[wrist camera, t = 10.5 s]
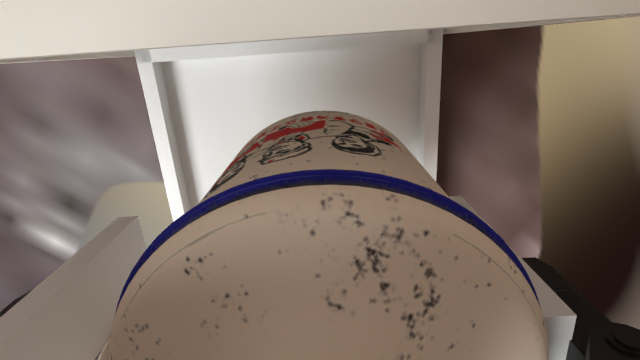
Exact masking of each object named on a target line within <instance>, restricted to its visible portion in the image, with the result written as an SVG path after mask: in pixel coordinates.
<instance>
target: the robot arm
mask: <svg viewBox="0 0 640 360" xmlns="http://www.w3.org/2000/svg"><path fill="white" fill-rule="evenodd" d="M449 198H450V199H451V200H453V201H455V202H456V203H458V204H460V205H461V206H463V207H465V208H466V209H468V210H469V211H471V212H472V213H473V214H475V215H476V216H477V217H479V218H480V219H481V220H483V221H484V222H485V223H487V222H486V221H485V220H484V219H483V218H482V217H481V216H480V215H479V214H478V213H477V212H476V211H475V210H474V209H473V208H472V207H471V206H470V205H469V204H468V203H467V202H466V201H465V199H464V198H463V197H462V196H449ZM487 224H488V223H487ZM488 225H489V224H488ZM489 226H490V225H489ZM490 227H491V226H490ZM491 228H492V227H491ZM492 229H493V228H492ZM493 230H494V229H493ZM494 231H495V230H494ZM495 232H496V231H495ZM506 244H507V243H506ZM507 245H508V244H507ZM508 246H509V245H508ZM509 247H510V246H509ZM510 248H511V247H510ZM145 250H146V246H145V242H144V238H143V234H142V230H141V226H140V223H139V219H138V216H133V217H118V218H117V219H116V220H115V221H113V222H112V223H111V224H110V225H109V226H108V227H106V228H105V229H104V230H103V231H102V232H100V233H99V234H98V235H97V236H96V237H95V238H94V239H92V240H91V241H90V242H89V243H88V244H87V245H85V246H84V247H83V248H82V249H80V250H79V251H78V252H77V253H76V254H75V255H73V256H72V257H71V258H70V259H69V260H67V261H66V262H65V263H64V264H63V265H62V266H60V267H59V268H58V269H57V270H56V271H54V272H53V273H52V274H51V275H50V276H49V277H47V278H46V279H45V280H44V281H43V282H41V283H40V284H39V285H38V286H37V287H36V288H34V289H33V290H31V291H30V292H28V293H26V294H24V295H23V296H21V297H19V298H17V299H16V300H14V301H13V302H12V303H11V304H9V305H8V306H7V307H6V308H5V309H3V310H2V311H1V312H0V360H94V359H95V358H96V356H97V355H98V353H99V352H100V351H101V349H102V348H103V346H104V345H105V344H106V342H107V341H108V339H109V338H110V334H111V329H112V324H113V320H114V317H115V312H116V308H117V304H118V301H119V298H120V295H121V292H122V289H123V287H124V285H125V283H126V281H127V279H128V277H129V275H130V273H131V271H132V269H133V268H134V266H135V265H136V263H137V262H138V260H139V259H140V257H141V256H142V254H143V253H144V252H145ZM511 250H512V251H513V252H514V253H515V254H516V256H517V258H518V259H519V261H520V262H521V264H522V265H523V267H524V269H525V270H526V272H527V274H528V276H529V278H530V280H531V282H532V284H533V286H534V288H535V291H536V294H537V297H538V300H539V303H540V306H541V311H542V314H543V318H544V321H545V324H546V330H547V335H548V343H549V360H640V330H639V329H636V328H633V327H631V326H628V325H624V324H619V323H614V322H611V321H610V320H609V319H608V318H607V317H606V316H604V315H603V314H602V313H601V312H600V311H599V310H598V309H597V308H596V307H595V306H594V305H593V304H592V303H591V302H590V301H588V300H587V299H586V298H585V297H584V296H583V295H582V294H581V293H580V292H579V291H578V290H575V289H574V287H573V286H572V285H571V284H570V283H569V282H568V281H567V280H564V277H563V276H562V275H561V274H560V273H558V272H557V271H556V270H555V269H554V268H553V267H552V266H550V265H548V264H546V263H544V262H543V261H540V260H539V259H537V258H535V257H534V258H521V257H520V256H519V255H518V254H517V253H516V252H515V251H514V250H513V249H512V248H511Z"/></svg>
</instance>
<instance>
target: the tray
mask: <svg viewBox="0 0 640 360" xmlns="http://www.w3.org/2000/svg"><path fill="white" fill-rule="evenodd" d="M442 43H443V28H440V29H426V30H412V31H398V32H384V33H370V34H356V35H342V36H328V37H314V38H300V39H286V40H272V41H258V42H244V43H230V44H216V45H202V46H188V47H174V48H160V49H146V50H134V52H135V56H136V60H137V65H138V69H139V74H140V78H141V82H142V87H143V91H144V96H145V100H146V104H147V109H148V113H149V118H150V122H151V126H152V131H153V135H154V140H155V144H156V148H157V153H158V157H159V162H160V166H161V170H162V175H163V179H164V184H165V188H166V192H167V197H168V201H169V205H170V209H171V214H172V219H173V222H174V221H175V220H177V219H178V218H179V217H181V216H182V215H183V214H185V213H186V212H187V211H189V210H190V209H191V208H193V207H195V206H196V205H198V204H199V203H200V201H201V200H202V199H203V198H204V196H205V195H206V194H207V192H208V191H209V190H210V189H211V187H212V186H213V185H214V184H215V182H216V181H217V180H218V178H219V177H220V176H221V175H222V173H223V172H224V171H225V170H226V168H227V167H228V166H229V164H230V163H231V162H232V161H233V159H234V158H235V157H236V156H237V154H238V153H239V152H240V150H241V149H242V148H243V147H244V146H245V145H246V144H247V142H248V141H250V140H251V139H252V138H253V137H254V136H255V135H256V134H258V133H259V132H260V131H262V130H263V129H264V128H266V127H268V126H269V125H271V124H273V123H275V122H277V121H279V120H281V119H284V118H286V117H289V116H292V115H296V114H300V113H304V112H310V111H324V110H326V111H339V112H346V113H350V114H354V115H358V116H361V117H363V118H366V119H369V120H371V121H373V122H375V123H377V124H379V125H380V126H382V127H384V128H385V129H387V130H388V131H390V132H391V133H392V134H393V135H395V136H396V137H397V138H398V139H399V140H400V141H401V142H402V143H403V144H404V145H405V146H406V147H407V149H408V150H409V151H410V152H411V153H412V154H413V156H414V157H415V158H416V159H417V160H418V161H419V163H420V164H421V165H422V166H423V167H424V168H425V170H426V171H427V172H428V173H429V174H430V175H431V177H432V178H433V179H434V180H435V181H436V175H437V153H438V131H439V109H440V87H441V65H442Z"/></svg>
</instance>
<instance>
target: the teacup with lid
mask: <svg viewBox="0 0 640 360" xmlns="http://www.w3.org/2000/svg"><path fill="white" fill-rule="evenodd" d="M98 360H549V343H548V335H547V330H546V324H545V321H544V318H543V314H542V311H541V306H540V303H539V300H538V297H537V294H536V291H535V288H534V286H533V284H532V282H531V280H530V278H529V276H528V274H527V272H526V270H525V269H524V267H523V265H522V264H521V262H520V261H519V259H518V258H517V256H516V254H515V253H514V252H513V251H512V250H511V248H510V247H509V246H508V245H507V244H506V242H505V241H504V240H503V239H502V238H501V237H500V236H499V235H498V234H497V233H496V232H495V231H494V230H493V229H492V228H491V227H490V226H489V225H488V224H487V223H485V222H484V221H483V220H481V219H480V218H479V217H477V216H476V215H475V214H473V213H472V212H471V211H469V210H468V209H466V208H465V207H463V206H461V205H460V204H458V203H456V202H455V201H453V200H451V199H450V198H449V196H448V195H447V194H446V193H445V192H444V191H443V189H442V188H441V187H440V186H439V185H438V184H437V182H436V181H435V180H434V179H433V178H432V177H431V175H430V174H429V173H428V172H427V171H426V170H425V168H424V167H423V166H422V165H421V164H420V163H419V161H418V160H417V159H416V158H415V157H414V156H413V154H412V153H411V152H410V151H409V150H408V149H407V147H406V146H405V145H404V144H403V143H402V142H401V141H400V140H399V139H398V138H397V137H396V136H395V135H393V134H392V133H391V132H390V131H388V130H387V129H385V128H384V127H382V126H380V125H379V124H377V123H375V122H373V121H371V120H369V119H366V118H363V117H361V116H358V115H354V114H350V113H346V112H339V111H326V110H324V111H310V112H304V113H300V114H296V115H292V116H289V117H286V118H284V119H281V120H279V121H277V122H275V123H273V124H271V125H269V126H268V127H266V128H264V129H263V130H262V131H260V132H259V133H258V134H256V135H255V136H254V137H253V138H252V139H251V140H250V141H248V142H247V144H246V145H245V146H244V147H243V148H242V149H241V150H240V152H239V153H238V154H237V156H236V157H235V158H234V159H233V161H232V162H231V163H230V164H229V166H228V167H227V168H226V170H225V171H224V172H223V173H222V175H221V176H220V177H219V178H218V180H217V181H216V182H215V184H214V185H213V186H212V187H211V189H210V190H209V191H208V192H207V194H206V195H205V196H204V198H203V199H202V200H201V201H200V203H199V204H198V205H196V206H195V207H193V208H191V209H190V210H189V211H187V212H186V213H185V214H183V215H182V216H181V217H179V218H178V219H177V220H175V221H174V222H173V223H171V224H170V226H168V227H167V228H166V229H165V230H164V231H163V232H162V233H161V234H160V235H159V236H158V237H157V238H156V239H155V240H154V241H153V242H152V244H151V245H150V246H149V247H148V248H147V249H146V250H145V252H144V253H143V254H142V256H141V257H140V259H139V260H138V262H137V263H136V265H135V266H134V268H133V269H132V271H131V273H130V275H129V277H128V279H127V281H126V283H125V285H124V287H123V289H122V292H121V295H120V298H119V301H118V304H117V308H116V312H115V317H114V320H113V324H112V329H111V334H110V340H109V341H108V343H107V344H106V346H105V347H104V349H103V351H102V352H101V354H100V356H99V359H98Z"/></svg>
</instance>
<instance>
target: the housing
mask: <svg viewBox="0 0 640 360" xmlns="http://www.w3.org/2000/svg"><path fill="white" fill-rule="evenodd" d="M636 16H640V0H0V64H2V63H20V62H39V61H57V60H75V59H93V58H112V57H130V56H135V52H134V50H146V49H160V48H174V47H188V46H202V45H216V44H230V43H244V42H258V41H272V40H286V39H300V38H314V37H328V36H342V35H356V34H370V33H384V32H398V31H412V30H426V29H440V28H443V34H453V33H464V32H475V31H486V30H497V29H507V28H518V27H529V26H539V25H550V24H561V23H572V22H582V21H593V20H604V19H614V18H625V17H636Z"/></svg>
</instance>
